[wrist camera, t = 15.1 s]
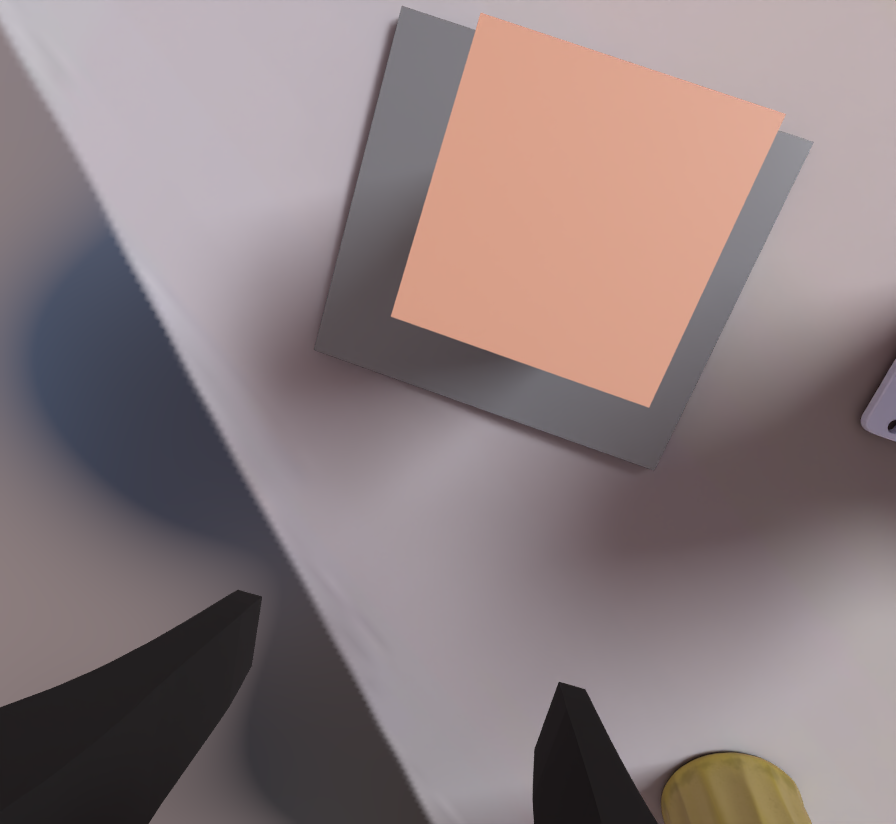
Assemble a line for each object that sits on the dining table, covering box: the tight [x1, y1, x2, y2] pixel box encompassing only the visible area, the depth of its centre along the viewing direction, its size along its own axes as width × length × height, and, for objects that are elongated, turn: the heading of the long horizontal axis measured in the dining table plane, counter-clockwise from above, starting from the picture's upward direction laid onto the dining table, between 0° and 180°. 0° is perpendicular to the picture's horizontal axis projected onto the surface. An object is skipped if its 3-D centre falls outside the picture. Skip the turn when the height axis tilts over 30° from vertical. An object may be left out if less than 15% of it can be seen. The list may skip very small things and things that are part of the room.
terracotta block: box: [391, 13, 786, 407], centre depth 11 cm, size 5×5×5 cm
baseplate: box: [314, 6, 814, 470], centre depth 19 cm, size 14×12×1 cm
